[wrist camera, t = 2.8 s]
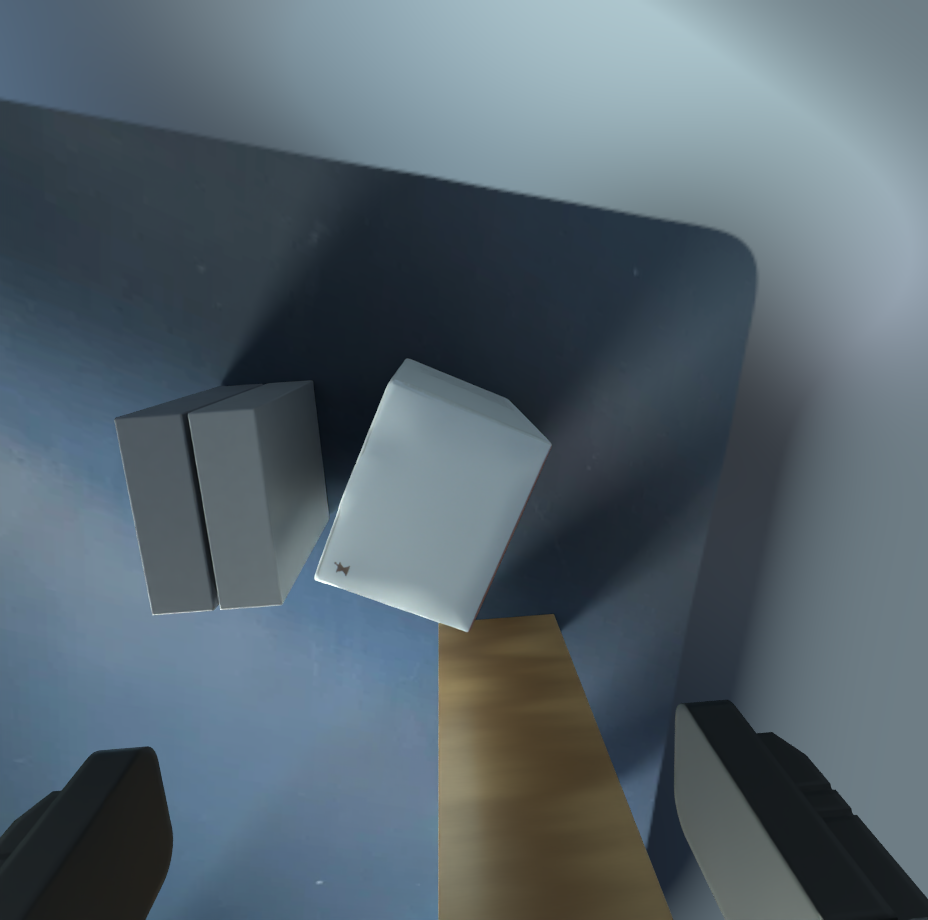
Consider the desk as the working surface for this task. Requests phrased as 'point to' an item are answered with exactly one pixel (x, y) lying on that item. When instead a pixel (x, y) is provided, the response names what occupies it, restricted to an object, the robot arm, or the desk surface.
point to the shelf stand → (530, 786)
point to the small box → (433, 497)
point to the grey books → (225, 494)
